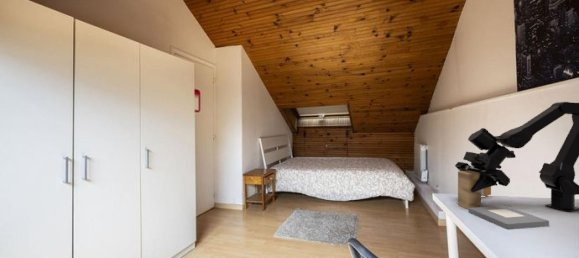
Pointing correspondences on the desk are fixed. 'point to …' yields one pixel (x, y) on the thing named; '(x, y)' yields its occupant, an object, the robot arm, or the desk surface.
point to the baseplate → (508, 217)
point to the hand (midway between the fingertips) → (465, 189)
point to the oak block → (468, 189)
